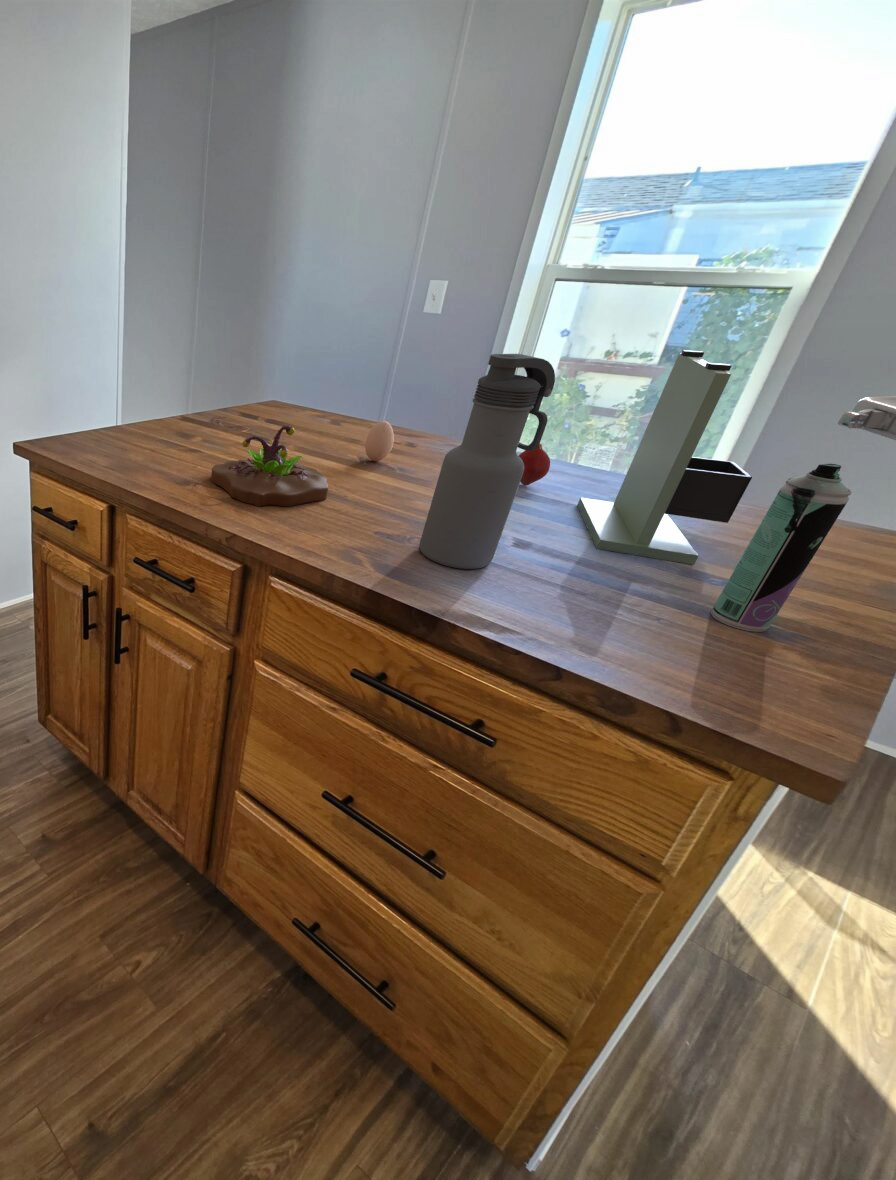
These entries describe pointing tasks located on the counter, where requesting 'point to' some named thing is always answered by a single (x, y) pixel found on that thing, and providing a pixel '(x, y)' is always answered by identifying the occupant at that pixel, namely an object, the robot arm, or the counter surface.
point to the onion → (534, 465)
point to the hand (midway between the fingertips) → (879, 430)
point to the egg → (379, 441)
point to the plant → (270, 476)
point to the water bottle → (486, 464)
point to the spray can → (782, 548)
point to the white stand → (671, 472)
